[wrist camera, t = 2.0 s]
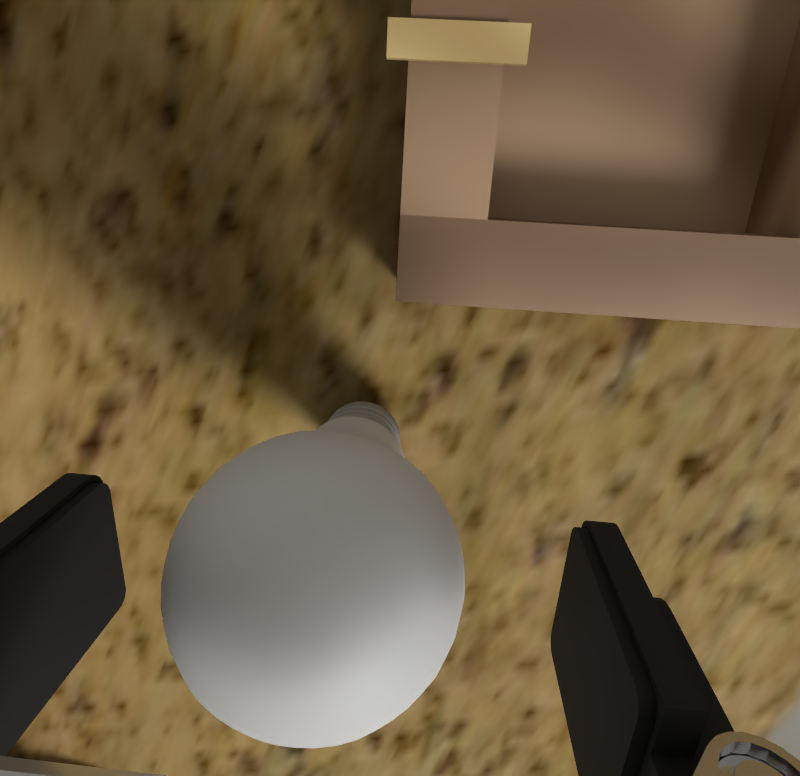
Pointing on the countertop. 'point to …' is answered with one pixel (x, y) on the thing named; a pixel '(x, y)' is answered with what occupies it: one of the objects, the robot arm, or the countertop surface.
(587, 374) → the countertop surface
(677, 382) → the countertop surface
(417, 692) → the lightbulb
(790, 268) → the socket block
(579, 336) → the countertop surface
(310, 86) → the countertop surface
